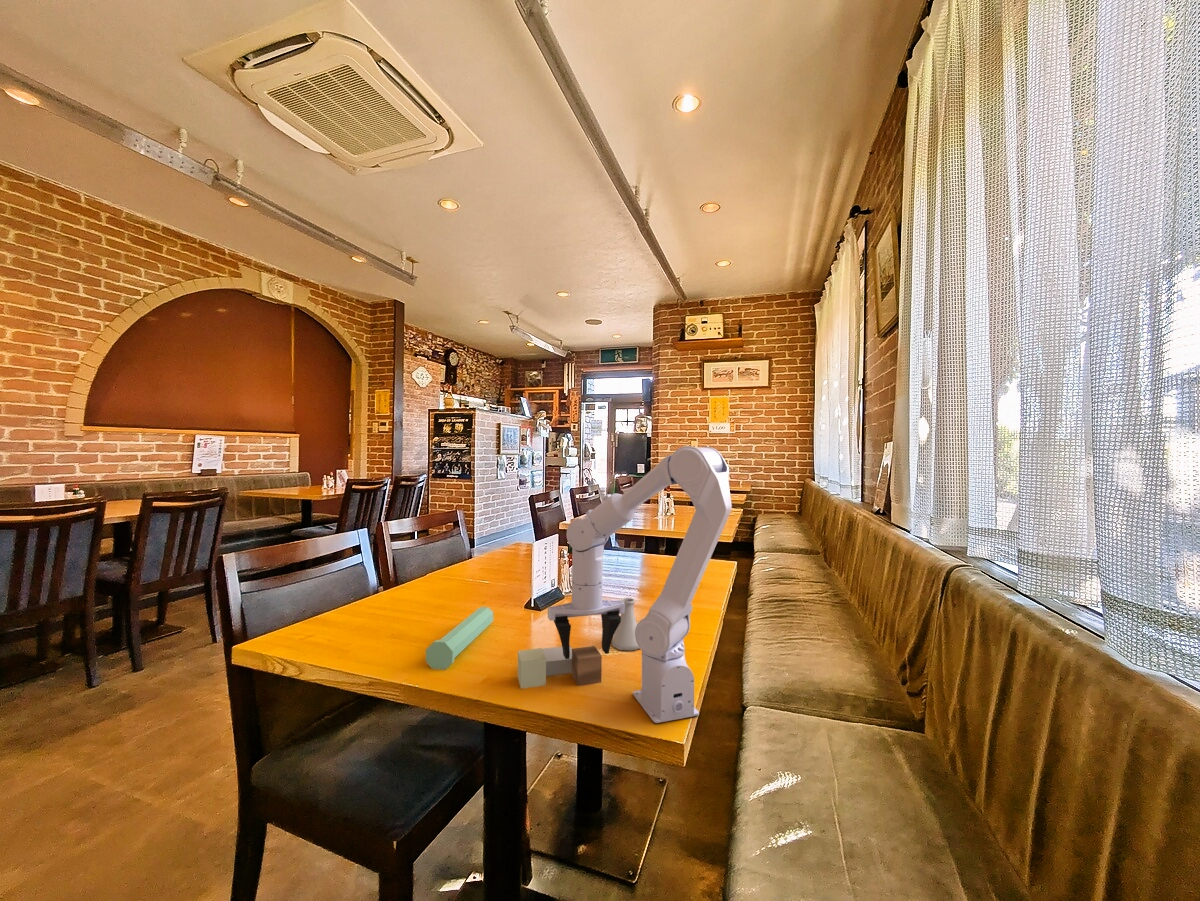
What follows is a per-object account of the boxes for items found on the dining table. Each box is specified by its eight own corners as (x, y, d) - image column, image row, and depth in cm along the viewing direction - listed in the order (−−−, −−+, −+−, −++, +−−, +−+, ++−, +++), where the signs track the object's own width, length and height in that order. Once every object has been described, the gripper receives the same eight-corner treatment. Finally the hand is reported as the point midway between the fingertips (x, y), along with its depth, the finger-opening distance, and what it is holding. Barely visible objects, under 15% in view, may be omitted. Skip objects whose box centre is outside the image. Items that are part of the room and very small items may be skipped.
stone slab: (576, 673, 90) (576, 658, 90) (545, 677, 88) (546, 661, 88) (569, 660, 95) (569, 645, 95) (540, 663, 94) (540, 648, 94)
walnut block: (601, 682, 86) (601, 655, 86) (577, 686, 84) (578, 658, 84) (594, 671, 90) (594, 645, 90) (571, 674, 89) (571, 648, 89)
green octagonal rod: (480, 598, 115) (431, 635, 91) (501, 608, 115) (458, 649, 90) (471, 620, 116) (420, 663, 91) (492, 630, 115) (446, 676, 90)
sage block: (545, 685, 85) (546, 657, 85) (521, 689, 83) (521, 661, 83) (541, 674, 89) (541, 647, 89) (517, 677, 87) (517, 650, 87)
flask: (616, 653, 98) (617, 606, 98) (607, 640, 105) (607, 596, 105) (648, 649, 100) (649, 603, 100) (637, 637, 107) (637, 593, 107)
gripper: (616, 573, 93) (615, 641, 93) (544, 578, 89) (543, 649, 89) (629, 583, 87) (628, 656, 87) (552, 589, 82) (551, 666, 82)
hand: (586, 654), depth 87 cm, fingers open, 7 cm apart
